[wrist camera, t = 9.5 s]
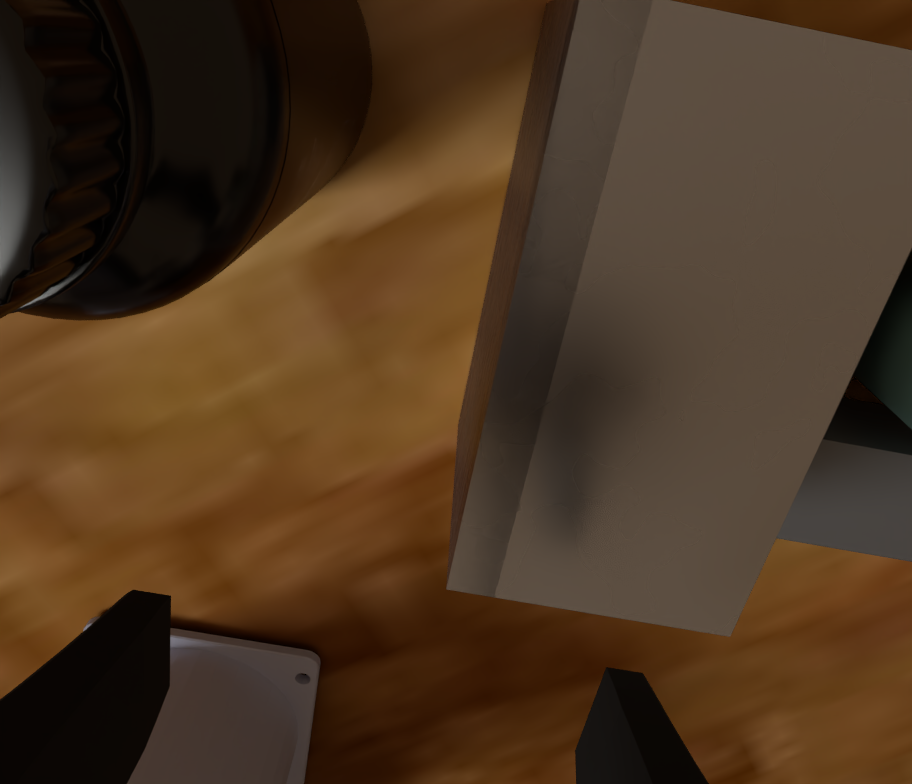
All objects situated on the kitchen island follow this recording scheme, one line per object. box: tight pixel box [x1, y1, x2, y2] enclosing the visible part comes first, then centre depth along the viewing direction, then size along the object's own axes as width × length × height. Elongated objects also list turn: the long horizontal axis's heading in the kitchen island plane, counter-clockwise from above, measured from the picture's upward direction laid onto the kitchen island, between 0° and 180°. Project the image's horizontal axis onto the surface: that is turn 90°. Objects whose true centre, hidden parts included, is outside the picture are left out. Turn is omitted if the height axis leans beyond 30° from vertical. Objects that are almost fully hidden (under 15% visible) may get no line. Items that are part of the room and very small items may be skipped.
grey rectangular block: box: [446, 0, 912, 637], centre depth 16 cm, size 11×6×7 cm, turn 170°
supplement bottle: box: [0, 0, 372, 320], centre depth 12 cm, size 7×7×12 cm
